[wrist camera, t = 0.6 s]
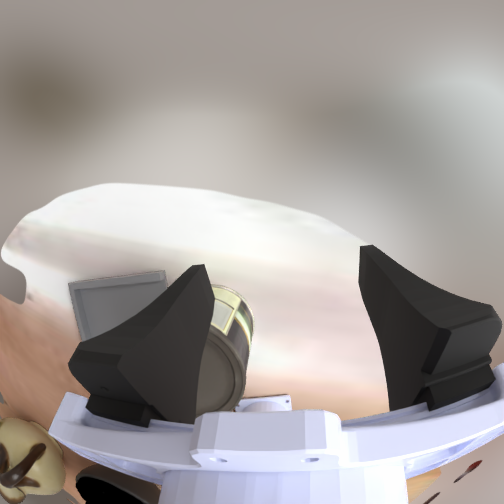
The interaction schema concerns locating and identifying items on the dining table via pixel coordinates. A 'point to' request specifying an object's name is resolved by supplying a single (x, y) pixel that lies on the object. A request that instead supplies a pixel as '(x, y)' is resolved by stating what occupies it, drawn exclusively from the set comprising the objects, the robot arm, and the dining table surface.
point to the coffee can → (225, 353)
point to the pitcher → (28, 461)
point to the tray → (113, 300)
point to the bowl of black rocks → (114, 487)
